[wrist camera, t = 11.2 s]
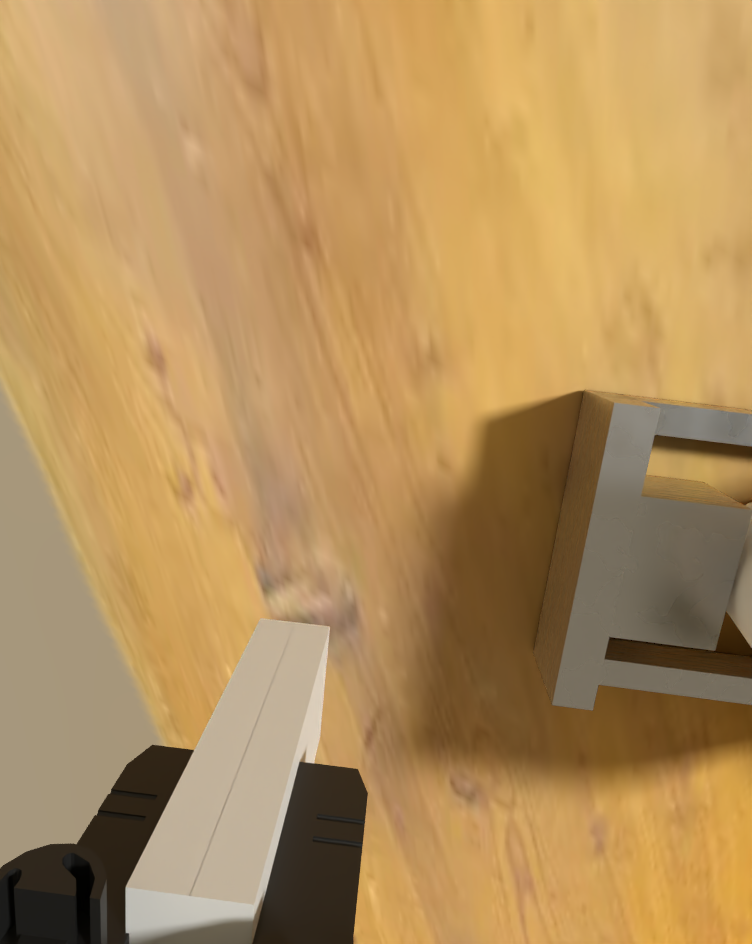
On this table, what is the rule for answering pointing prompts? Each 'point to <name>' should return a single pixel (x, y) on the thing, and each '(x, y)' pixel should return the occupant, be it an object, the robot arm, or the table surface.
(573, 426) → the table surface
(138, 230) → the table surface
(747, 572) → the cup
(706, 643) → the frame
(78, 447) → the table surface
